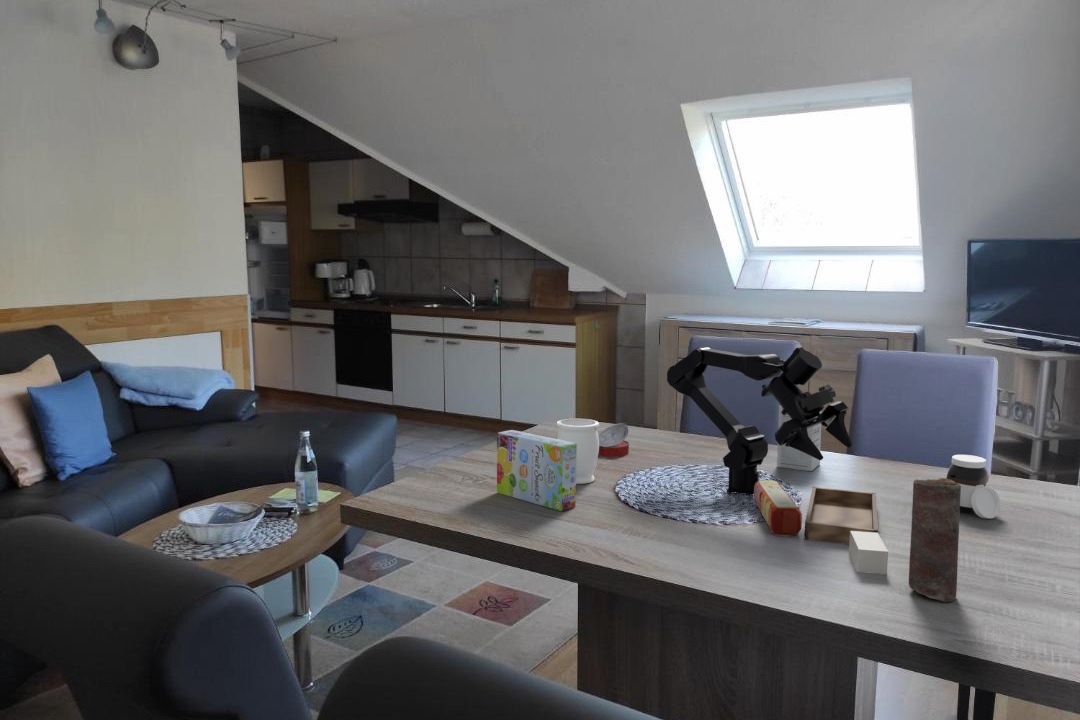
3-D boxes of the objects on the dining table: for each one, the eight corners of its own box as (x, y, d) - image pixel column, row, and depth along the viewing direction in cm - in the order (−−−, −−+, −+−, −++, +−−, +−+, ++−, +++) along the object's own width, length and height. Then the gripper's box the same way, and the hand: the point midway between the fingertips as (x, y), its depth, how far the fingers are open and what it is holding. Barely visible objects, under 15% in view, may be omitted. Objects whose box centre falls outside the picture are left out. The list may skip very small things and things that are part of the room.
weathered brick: (907, 599, 136) (915, 483, 133) (905, 582, 143) (912, 471, 140) (958, 606, 133) (967, 488, 131) (953, 589, 140) (961, 476, 137)
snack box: (577, 507, 185) (578, 442, 183) (561, 512, 181) (561, 446, 179) (511, 488, 199) (511, 428, 197) (495, 493, 195) (494, 431, 193)
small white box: (857, 573, 148) (858, 549, 147) (848, 553, 157) (850, 530, 157) (886, 575, 147) (888, 551, 146) (876, 555, 156) (877, 532, 156)
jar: (550, 483, 203) (550, 424, 201) (565, 472, 213) (565, 416, 211) (591, 487, 199) (591, 428, 197) (604, 477, 209) (604, 419, 207)
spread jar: (955, 500, 190) (958, 451, 188) (1008, 511, 182) (1012, 460, 180) (935, 511, 182) (939, 460, 180) (991, 523, 174) (995, 470, 172)
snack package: (751, 504, 187) (752, 476, 186) (781, 505, 186) (782, 477, 185) (769, 537, 166) (770, 505, 165) (802, 538, 165) (803, 506, 164)
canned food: (627, 471, 232) (633, 445, 226) (592, 467, 232) (596, 441, 226) (626, 444, 241) (631, 419, 235) (592, 441, 241) (597, 415, 235)
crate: (804, 539, 164) (804, 522, 164) (811, 501, 189) (812, 486, 188) (877, 548, 159) (878, 530, 159) (875, 508, 184) (876, 493, 183)
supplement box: (820, 464, 221) (823, 403, 219) (812, 472, 213) (815, 409, 211) (785, 459, 226) (788, 399, 224) (775, 466, 219) (778, 405, 216)
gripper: (778, 387, 174) (825, 444, 166) (837, 366, 183) (884, 419, 175) (755, 417, 182) (799, 473, 174) (813, 396, 191) (857, 448, 183)
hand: (836, 452), depth 177 cm, fingers open, 9 cm apart
